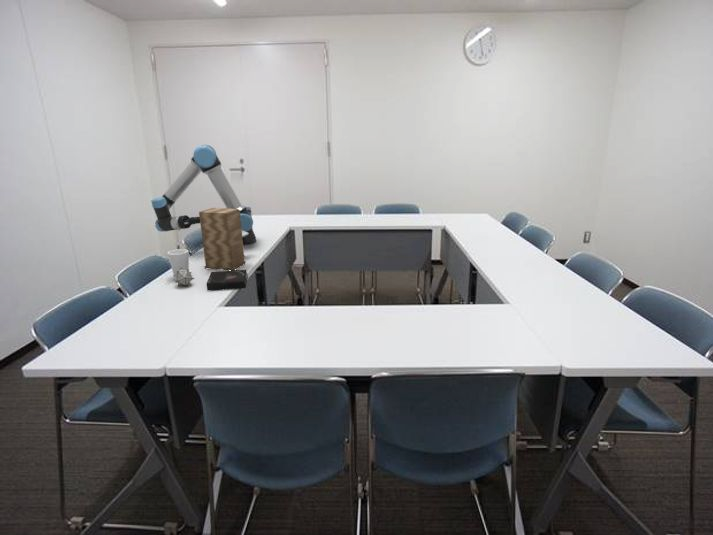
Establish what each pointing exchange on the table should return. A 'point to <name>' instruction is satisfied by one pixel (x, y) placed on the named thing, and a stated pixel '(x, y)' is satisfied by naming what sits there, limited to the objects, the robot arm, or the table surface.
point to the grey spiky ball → (183, 277)
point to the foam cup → (179, 260)
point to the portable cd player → (227, 280)
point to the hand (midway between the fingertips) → (217, 217)
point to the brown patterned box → (222, 238)
